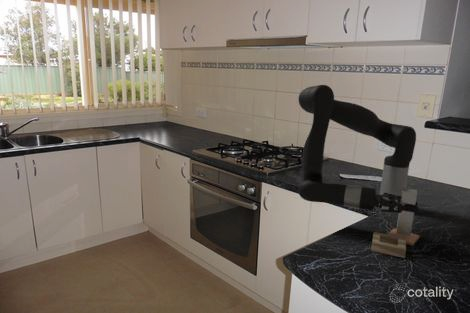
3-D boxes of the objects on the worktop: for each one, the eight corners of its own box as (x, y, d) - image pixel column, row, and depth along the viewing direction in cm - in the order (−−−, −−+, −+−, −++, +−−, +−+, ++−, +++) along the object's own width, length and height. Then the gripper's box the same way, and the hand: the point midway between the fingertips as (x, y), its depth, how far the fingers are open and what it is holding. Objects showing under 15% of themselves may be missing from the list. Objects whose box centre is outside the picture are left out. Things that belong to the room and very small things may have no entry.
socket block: (372, 239, 112) (373, 231, 111) (404, 245, 108) (405, 238, 108) (370, 250, 104) (371, 242, 103) (404, 258, 100) (406, 249, 100)
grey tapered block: (396, 228, 116) (402, 187, 113) (409, 231, 115) (416, 189, 112) (396, 233, 113) (402, 191, 110) (410, 236, 111) (417, 193, 108)
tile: (393, 230, 120) (393, 228, 119) (419, 237, 114) (419, 235, 114) (385, 237, 113) (386, 235, 113) (412, 245, 108) (413, 243, 108)
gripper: (358, 192, 110) (420, 202, 104) (362, 181, 123) (418, 189, 116) (356, 215, 112) (416, 226, 105) (360, 202, 125) (414, 211, 118)
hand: (417, 207), depth 111 cm, fingers closed on grey tapered block, 4 cm apart
